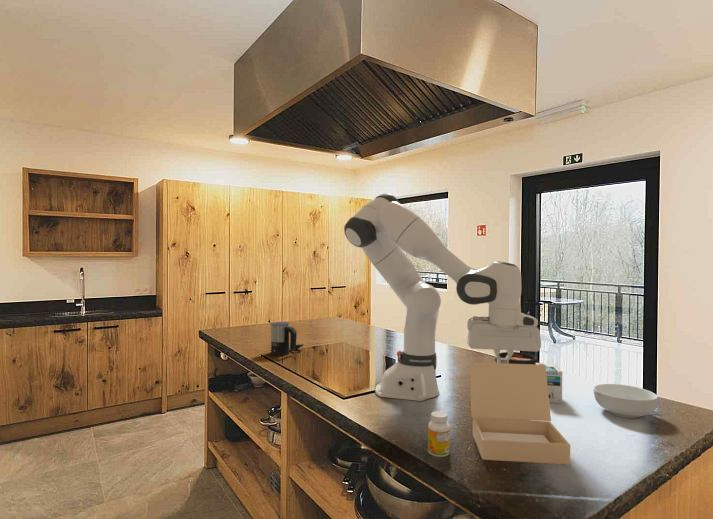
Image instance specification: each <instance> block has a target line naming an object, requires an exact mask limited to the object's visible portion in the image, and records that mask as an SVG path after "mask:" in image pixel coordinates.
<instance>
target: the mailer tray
mask: <svg viewBox="0 0 713 519" xmlns="http://www.w3.org/2000/svg"><path fill="white" fill-rule="evenodd" d="M482 432H493V433H513V434H532V435H544V436H545V437H546V439H547V440H548V441H549V443H545V442H526V441H507V440H487V439H484V437H483V434H482ZM472 437H473V440H474V442H475V444H476V448H477V449H478V453H479V455H480V457H481V460H483V461H484V460H485V461H502V462H515V463H516V462H517V463H531V464H532V463H537V464H550V465H551V464H553V465H554V464H555V465H571V443H570V442H569V441H568V440H567V439H566V438H565V437H564V436H563V435H562V433H561V432H560V431H558V429H557V428H556V427H555V426H554V424H553V423H552V422H551V421H536V420H515V419H494V418H473V417H472Z"/></svg>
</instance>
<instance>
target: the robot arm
mask: <svg viewBox="0 0 713 519" xmlns="http://www.w3.org/2000/svg"><path fill="white" fill-rule="evenodd" d="M343 229H344V230H343V231H344V235H345V237H346V239H347V240H348V242H349V243H350V244H351V245H353V246H354V247H357V248H361V249H362V251H363V253H364V255H365V256H366V257H367V259H368V260H369V261H370V263H371V264H372V265H373V267H374V268H375V269H376V270H377V271H378V273H379V274H380V275H381V276H382V278H383V279H384V280H385V282H386V283H387V285H389V287H390V288H391V289H392V291H393V292H394V293H395V295H396V296H397V297H398V299H399V300H400V302H401V303H402V304H403V305H404V306H405V307H406V316H405V322H404V323H405V324H404V328H403V350H400V349H398V350H397V351H396V356H397V362H396V363H395V364H393V365H392V366H390V367H388V368H387V369H386V370H385V371H384V373H383V375H382V378H381V382H379V383H377V384H376V386H375V394H376V395H377V396H378V397H380V398H381V397H382V398H390V399H400V400H408V401H418V402H422V401H425V400H427V399H431V398H436V397H437V396H439V395H440V390H439V386H438V381H437V371H436V370H437V363H438V362H437V361H438V360H437V357H438V356H437V353H436V332H437V331H436V329H437V324H438V323H437V322H438V318H439V311H440V307H441V302H442V300H441V299H442V298H441V296H440V293H439V291H438V290H437V289H436V288H435V287H434V286H433V285H431V284H428V283H426V281H424V279H423V278H422V277H421V275H420V273H419V272H418V271H417V269H416V268H415V265H414V264H413V262H412V261H411V260H410V259H409V257H408V256H407V255H406V253H407V254H409V255H410V256H412V257H413V258H416V259H419V260H423V261H426V262H429V263H431V264H432V265H434V266H436V267H437V268H439V269H440V271H442V272H443V273H445V274H446V275H447V276H448V277H449V278H451V280H453V281H454V282H455V283H456V285H455V286H456V290H455V291H456V293H457V296H458V298H459V300H461V301H462V302H463V303H466V304H467V305H472V306H474V305H475V306H476V305H480V304H488V314H487V315H488V316H472V317H470V318H469V319H468V320H467V330H468V333H467V334H468V335H467V345H468V347H469V348H471V349H474V350H493V354H494V355H495V358H496V357H497V363H505V364H509V360H510V358H511V357H512V355H513V352H517V351H520V352H521V351H522V352H537V353H538V352H540V350H541V349H542V337H541V331H540V329H539V327H537V326H538V325H539V321H538V319H537V318H536V317H534V316H532V315H529V314H526V313H524V312H522V308H521V307H522V306H521V296H522V272H521V269H520V268H519V267H518V266H517V265H516V264H515V263H510V262H505V261H501V260H495V261H492V262H491V263H489V264H488V265H486V266H484V267H482V268H479V269H475V268H472V267H470V266H468V265H467V264H465V263H464V262H463V261H462V260H461V259H460V258H459V257H458V256H456V255H455V254H454V253H452V252H451V251H450V250H449V249H448V248H447V247H446V246H445V245H444V243H443V242H442V241H441V239H440V238H439V236H438V235H437V234H436V233H435V231H434V230H433V229H432V227H431V226H430V225H429V224H428V223H427V222H425V220H424V219H423V218H422V217H420V216H419V215H418V214H416V213H415V212H414V211H413V210H412V209H410V208H408V207H406V206H405V205H403V204H402V203H401V202H400V201H399V200H398V198H397V197H395V196H394V195H393V194H391V193H382V194H379V195H377V196H376V197H375V198H374V199H372V200H371V201H369V202H368V203H366V204H365V205H364V206H362V207H361V208H360V210H358V211H357V212H356V213H355V214H354V215H353V216H351V217H350V218H349V219H348V220H347V222H346V223H345V224H344V227H343ZM501 351H505V352H507V353H508V354H507V356H506V357H505V358H500V357H499V355H498V354H500V353H501Z"/></svg>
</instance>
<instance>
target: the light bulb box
mask: <svg viewBox="0 0 713 519" xmlns="http://www.w3.org/2000/svg"><path fill="white" fill-rule="evenodd" d="M536 365H546V374H547V384H548V395H549V404H550V403H552V404H563V371H562V370H561V369H560V368H559V367H557V365H556V364H555V363H543V362H539V363H536Z"/></svg>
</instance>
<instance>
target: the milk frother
mask: <svg viewBox="0 0 713 519" xmlns="http://www.w3.org/2000/svg"><path fill="white" fill-rule="evenodd" d="M269 324H270V343H271V344H270V355H271V356H284V355H285V356H286V355H289V354H290V352H292V351H297V350H298V349H300V348H302V347H304V344H303V343H300V344H297V335H298V334H297V330H296V328H294V327H292V326H290V322H288V321H275V322H270V323H269Z"/></svg>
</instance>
